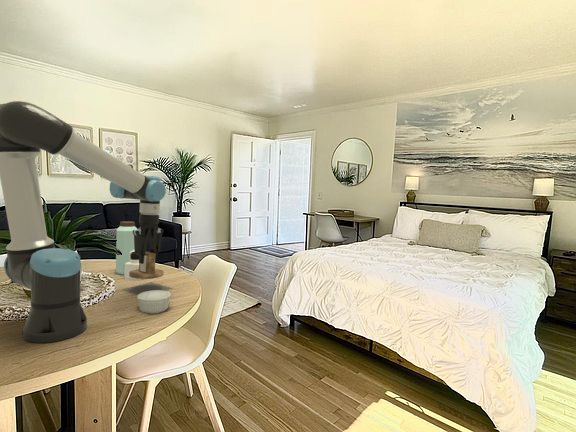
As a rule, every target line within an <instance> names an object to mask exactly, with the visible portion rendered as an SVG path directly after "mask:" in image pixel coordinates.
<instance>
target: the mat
mask: <svg viewBox="0 0 576 432" xmlns="http://www.w3.org/2000/svg"><path fill="white" fill-rule="evenodd" d="M172 289H173V287H170V286H169V287H168V286H166V285H162V284H159V283H156V282H155V283H154V282H152V281H151V282H146V283H143V284H139V285H134V286H131V287H128V288H123V289H121V291H124V292H126V293H127V292H128V293H131V294H133V295H137V296H138V295H139V294H140V293H143V292H147V291H153V290H163V291H169V290H172Z"/></svg>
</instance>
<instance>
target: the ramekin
mask: <svg viewBox="0 0 576 432" xmlns="http://www.w3.org/2000/svg"><path fill="white" fill-rule="evenodd" d="M171 297H172V293H171V292H170V291H169V290H166V291H163V290H153V291H147V292H143V293H140V294H139V295H137V296H136V299H137V305H138V310H139V311H140V312H143V313H147V314H150V315H151V314H159V313H162V312H165V311H166V310H167V309H168V308H169V305H170V302H171V301H170V300H171Z"/></svg>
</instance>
